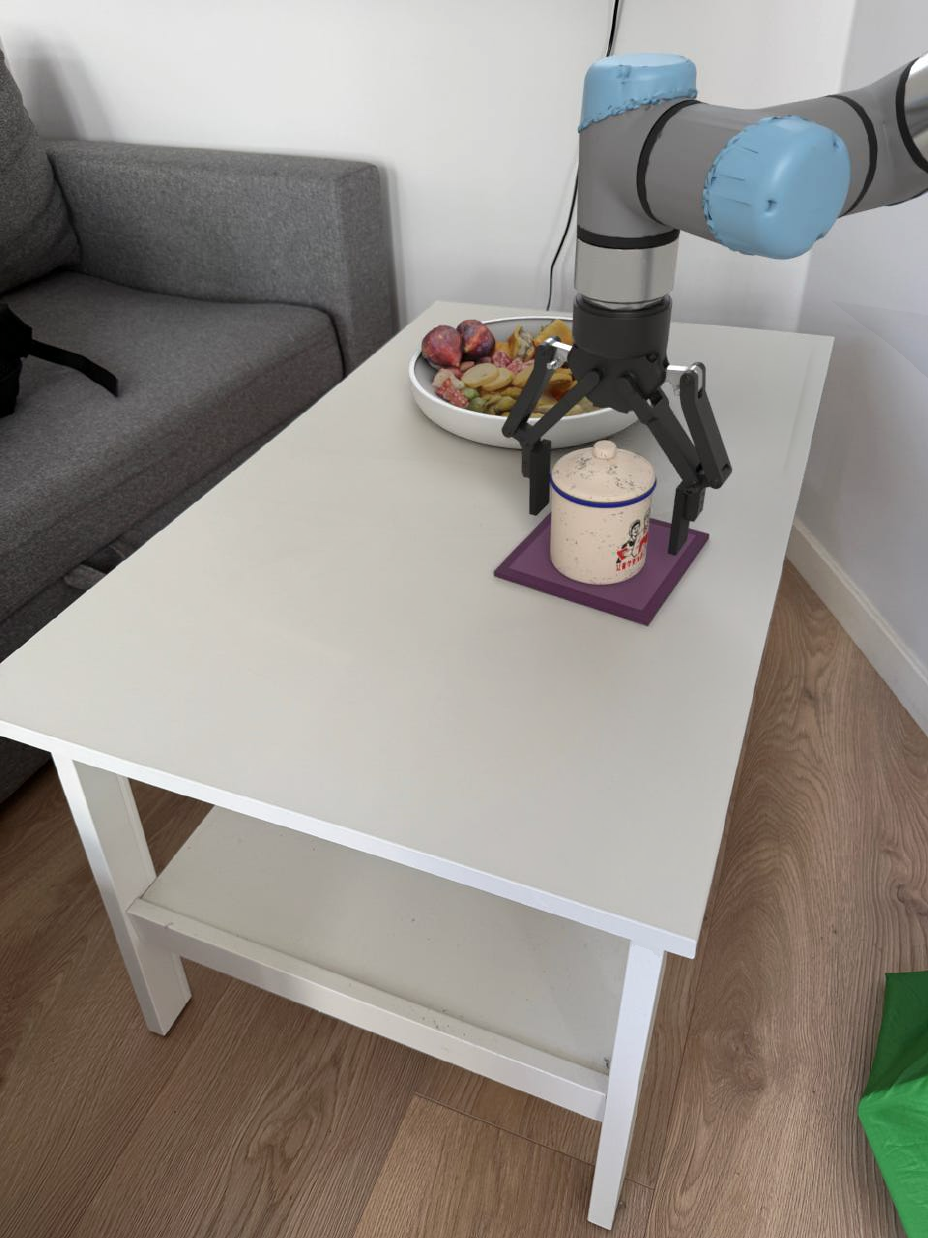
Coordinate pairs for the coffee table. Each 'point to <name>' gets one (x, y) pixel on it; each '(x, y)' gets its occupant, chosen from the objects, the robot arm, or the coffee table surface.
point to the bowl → (501, 382)
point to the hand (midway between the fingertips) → (605, 527)
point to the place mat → (620, 599)
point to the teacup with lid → (600, 513)
